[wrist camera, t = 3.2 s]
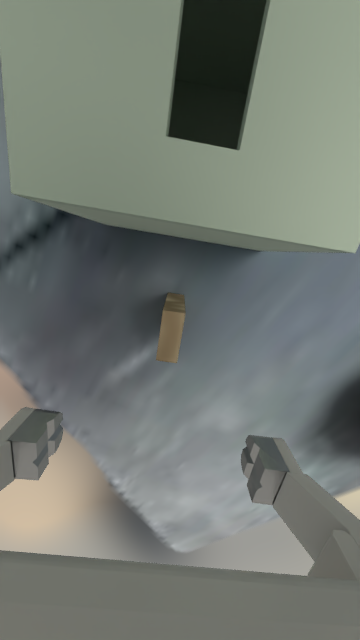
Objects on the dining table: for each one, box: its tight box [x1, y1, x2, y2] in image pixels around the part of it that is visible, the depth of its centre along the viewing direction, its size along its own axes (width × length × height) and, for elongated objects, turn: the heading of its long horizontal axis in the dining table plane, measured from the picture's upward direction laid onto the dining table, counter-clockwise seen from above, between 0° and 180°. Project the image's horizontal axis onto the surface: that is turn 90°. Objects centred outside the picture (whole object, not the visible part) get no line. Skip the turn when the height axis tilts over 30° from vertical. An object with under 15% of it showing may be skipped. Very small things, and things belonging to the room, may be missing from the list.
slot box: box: [0, 0, 360, 253], centre depth 16 cm, size 18×14×14 cm
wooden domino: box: [156, 293, 185, 363], centre depth 23 cm, size 2×5×8 cm, turn 171°
